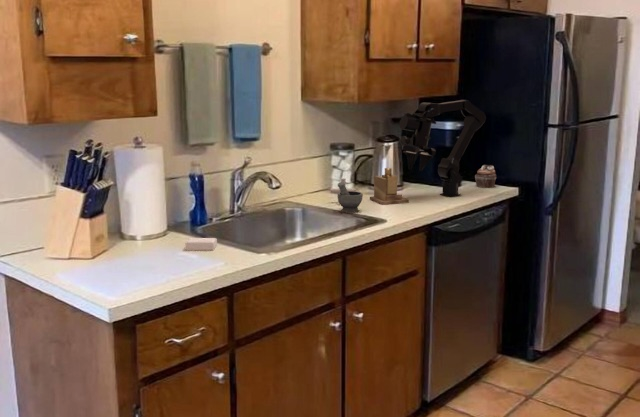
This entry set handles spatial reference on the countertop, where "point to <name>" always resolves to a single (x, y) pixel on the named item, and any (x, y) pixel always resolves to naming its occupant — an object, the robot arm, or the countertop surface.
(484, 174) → the cupcake
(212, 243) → the soap
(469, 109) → the robot arm
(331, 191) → the pipe connector
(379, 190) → the bronze stepped stand
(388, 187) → the bronze perfume bottle
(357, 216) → the countertop surface
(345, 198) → the mortar and pestle
